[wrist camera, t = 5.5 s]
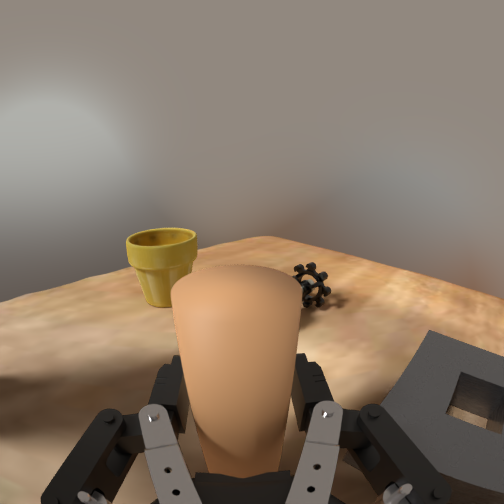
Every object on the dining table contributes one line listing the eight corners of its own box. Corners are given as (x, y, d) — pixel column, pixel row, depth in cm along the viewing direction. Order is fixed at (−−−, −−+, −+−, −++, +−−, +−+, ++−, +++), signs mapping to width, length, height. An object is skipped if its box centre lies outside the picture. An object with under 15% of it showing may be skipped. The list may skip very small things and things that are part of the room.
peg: (199, 473, 14) (150, 283, 9) (247, 445, 17) (244, 257, 12) (239, 514, 11) (221, 342, 6) (289, 479, 14) (328, 289, 9)
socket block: (342, 460, 15) (357, 432, 13) (418, 359, 25) (429, 329, 23) (497, 523, 3) (532, 499, 2) (525, 399, 13) (542, 370, 12)
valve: (269, 353, 28) (328, 312, 36) (272, 300, 26) (334, 268, 34) (230, 328, 33) (291, 297, 41) (228, 280, 31) (294, 256, 39)
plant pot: (213, 301, 39) (210, 236, 36) (147, 322, 33) (136, 250, 30) (183, 279, 47) (178, 224, 44) (127, 293, 41) (118, 234, 38)
